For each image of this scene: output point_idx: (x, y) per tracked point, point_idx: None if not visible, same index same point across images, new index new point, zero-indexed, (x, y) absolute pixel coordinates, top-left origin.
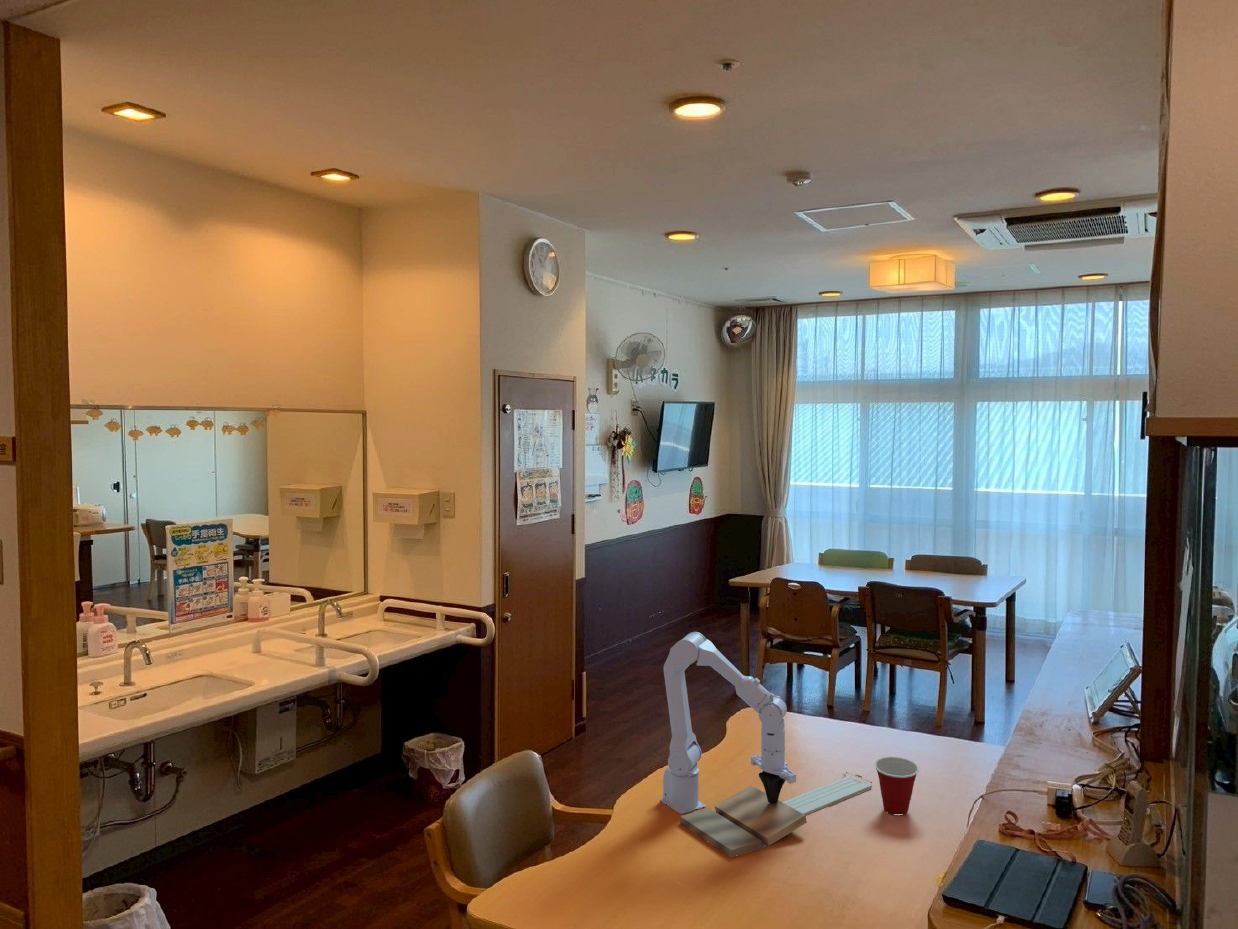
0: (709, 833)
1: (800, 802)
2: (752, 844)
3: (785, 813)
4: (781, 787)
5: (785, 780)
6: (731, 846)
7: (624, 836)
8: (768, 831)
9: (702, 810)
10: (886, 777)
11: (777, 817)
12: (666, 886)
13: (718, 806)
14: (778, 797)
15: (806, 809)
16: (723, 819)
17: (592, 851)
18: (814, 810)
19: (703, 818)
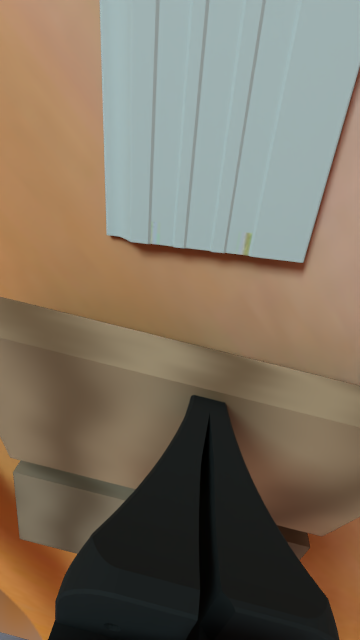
0: None
1: (209, 39)
2: None
3: (331, 458)
4: (258, 498)
5: (308, 576)
6: None
7: (22, 583)
8: (306, 520)
9: (18, 492)
10: None
11: (302, 478)
12: None
13: (23, 458)
14: (229, 423)
15: (310, 126)
16: (112, 504)
17: (45, 623)
18: (358, 64)
19: (68, 524)
